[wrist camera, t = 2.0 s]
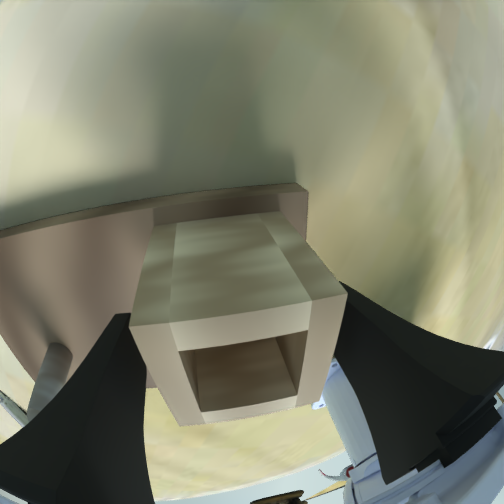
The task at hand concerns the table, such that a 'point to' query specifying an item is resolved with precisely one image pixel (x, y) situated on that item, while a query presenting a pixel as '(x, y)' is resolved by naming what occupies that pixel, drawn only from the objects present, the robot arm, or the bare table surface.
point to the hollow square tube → (235, 317)
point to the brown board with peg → (99, 272)
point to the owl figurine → (282, 499)
